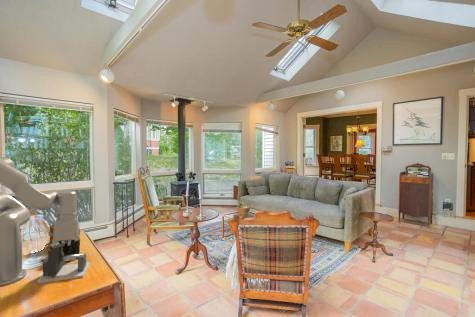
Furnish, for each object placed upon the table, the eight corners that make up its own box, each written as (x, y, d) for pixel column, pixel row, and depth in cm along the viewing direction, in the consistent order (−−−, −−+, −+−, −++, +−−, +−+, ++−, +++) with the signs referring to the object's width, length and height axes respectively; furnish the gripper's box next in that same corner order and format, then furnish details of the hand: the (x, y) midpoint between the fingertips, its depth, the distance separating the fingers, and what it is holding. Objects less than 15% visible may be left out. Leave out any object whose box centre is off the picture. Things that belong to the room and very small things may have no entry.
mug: (49, 251, 138) (49, 226, 137) (46, 242, 149) (46, 219, 149) (71, 246, 145) (71, 222, 144) (67, 238, 157) (67, 216, 156)
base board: (36, 283, 106) (36, 281, 106) (48, 269, 118) (48, 267, 118) (83, 277, 112) (83, 274, 112) (90, 264, 124) (90, 262, 124)
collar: (48, 276, 108) (47, 253, 108) (57, 265, 118) (57, 243, 118) (55, 275, 109) (55, 252, 109) (64, 264, 119) (64, 243, 119)
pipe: (42, 276, 110) (42, 260, 110) (47, 271, 115) (47, 255, 114) (83, 271, 116) (83, 255, 115) (86, 266, 120) (86, 251, 120)
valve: (48, 250, 139) (47, 258, 129) (48, 239, 138) (47, 246, 129) (62, 247, 143) (62, 255, 133) (62, 237, 142) (62, 244, 133)
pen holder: (78, 252, 137) (78, 236, 136) (81, 258, 130) (81, 240, 130) (57, 257, 130) (57, 240, 130) (60, 264, 123) (60, 245, 123)
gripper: (45, 219, 109) (45, 258, 110) (82, 217, 114) (82, 254, 115) (52, 215, 116) (51, 251, 117) (86, 213, 121) (86, 247, 122)
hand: (66, 252), depth 116 cm, fingers closed
